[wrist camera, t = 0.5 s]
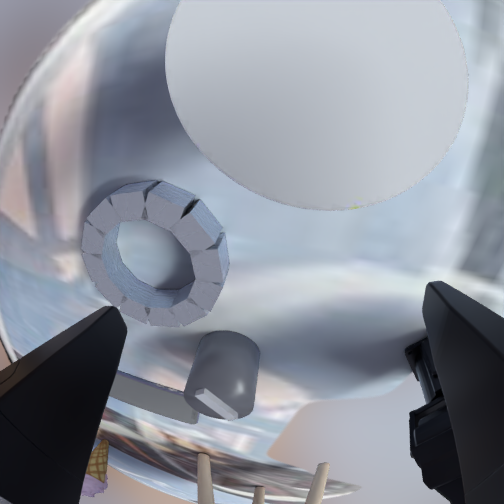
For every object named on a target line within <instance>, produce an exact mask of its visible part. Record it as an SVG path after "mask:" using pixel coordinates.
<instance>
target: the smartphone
mask: <svg viewBox="0 0 504 504" xmlns="http://www.w3.org/2000/svg"><path fill="white" fill-rule="evenodd" d="M183 394H184V392H182V391H178V390H175V389H172V388H169V387H165V386H162V385H159V384H156V383H153V382H150V381H147V380H144V379H141V378H138V377H135V376H132V375H130V374H127V373H124V372H121V371H119V370H117V373H116V376H115V380H114V382H113V385H112V388H111V391H110V394H109V396H111V397H113V398H116V399H118V400H121V401H123V402H126V403H128V404H131V405H134V406H136V407H139V408H142V409H145V410H148V411H150V412H153V413H156V414H159V415H162V416H166V417H169V418H172V419H175V420H179V421H182V422H185V423H189V424H196V423H198V418H199V412H198V411H196V410H194V409H193V408H192V407H190V406H189V405H188V404H187V402H186V401H185V399H184V395H183Z"/></svg>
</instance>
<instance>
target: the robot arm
mask: <svg viewBox="0 0 504 504" xmlns="http://www.w3.org/2000/svg"><path fill="white" fill-rule="evenodd" d="M422 313H423V318H424V322H425V326H426V330H427V334H428V337H427V338H425V339H424V340H422V341H420V342H418V343H416V344H414V345H412V346H410V347H408V348H406V349H405V355H406V357H407V359H408V361H409V364H410V366H411V368H412V370H413V373H414V375H415V377H416V379H417V381H420V384H421V387H422V390H423V394H424V398H425V401H426V405H424V406H422V407H420V408H418V409H417V410H413V411H411V412H410V413H409V415H410V420H409V428H410V451H411V452H410V455H411V457H412V458H414V459H415V461H416V463H417V465H418V466H419V467H420V468H421V469H422V476H423V482H424V483H425V485H426V486H427V487H428V488H429V489H435V490H436V491H437V492H439V493H440V494H441V495H442V496H444V497H445V498H446V499H447V500H449V501H450V503H451V504H504V318H503V317H501V316H499V315H498V314H496V313H495V312H493V311H491V310H490V309H488V308H487V307H485V306H483V305H482V304H480V303H478V302H477V301H475V300H473V299H472V298H470V297H468V296H467V295H465V294H463V293H462V292H460V291H458V290H457V289H455V288H453V287H451V286H450V285H448V284H446V283H444V282H443V281H434V282H429V283H428V284H427V286H426V290H425V296H424V301H423V307H422ZM126 335H127V326H126V324H125V322H124V320H123V318H122V316H121V314H120V312H119V310H118V309H117V308H116V307H115V306H104V307H102V308H100V309H99V310H97V311H95V312H94V313H92V314H90V315H89V316H87V317H86V318H84V319H82V320H81V321H79V322H77V323H76V324H74V325H73V326H71V327H69V328H68V329H66V330H65V331H63V332H61V333H60V334H58V335H57V336H55V337H53V338H52V339H50V340H49V341H47V342H45V343H44V344H42V345H41V346H39V347H38V348H36V349H34V350H33V351H31V352H30V353H28V354H27V355H25V356H23V357H22V358H21V359H19V360H17V361H16V362H14V363H13V364H11V365H9V366H8V367H6V368H5V369H3V370H2V371H0V504H79V500H80V495H81V492H82V487H83V482H84V479H85V475H86V471H87V467H88V463H89V459H90V456H91V452H92V449H93V445H94V442H95V438H96V435H97V432H98V428H99V425H100V422H101V419H102V415H103V412H104V409H105V406H106V403H107V400H108V397H109V394H110V391H111V388H112V385H113V382H114V380H115V376H116V373H117V370H118V366H119V362H120V358H121V354H122V350H123V347H124V343H125V339H126Z"/></svg>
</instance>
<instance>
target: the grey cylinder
mask: <svg viewBox="0 0 504 504" xmlns="http://www.w3.org/2000/svg"><path fill="white" fill-rule="evenodd" d="M165 71H166V79H167V85H168V89H169V94H170V97H171V100H172V103H173V106H174V108H175V111H176V113H177V116H178V118H179V120H180V122H181V124H182V126H183V127H184V129H185V131H186V132H187V134H188V135H189V137H190V138H191V140H192V141H193V142H194V144H195V145H196V146H197V148H198V149H199V150H200V151H201V152H202V154H203V155H204V156H205V157H206V158H207V159H208V160H209V161H210V162H211V163H212V164H213V165H214V166H216V167H217V168H218V169H219V170H220V171H221V172H223V173H224V174H225V175H226V176H228V177H229V178H231V179H232V180H233V181H235V182H236V183H238V184H239V185H241V186H243V187H245V188H246V189H248V190H250V191H252V192H254V193H256V194H258V195H260V196H263V197H265V198H268V199H270V200H273V201H276V202H279V203H282V204H286V205H290V206H293V207H299V208H304V209H312V210H326V211H335V210H349V209H356V208H362V207H366V206H370V205H374V204H377V203H380V202H383V201H386V200H388V199H391V198H393V197H395V196H397V195H399V194H401V193H403V192H405V191H407V190H408V189H410V188H411V187H413V186H414V185H416V184H417V183H419V182H420V181H421V180H423V179H424V178H425V177H426V176H427V175H428V174H429V173H430V172H431V171H432V170H433V169H434V168H435V167H436V166H437V165H438V164H439V163H440V162H441V160H442V159H443V158H444V157H445V155H446V154H447V152H448V151H449V149H450V148H451V146H452V144H453V142H454V140H455V139H456V136H457V134H458V132H459V130H460V127H461V124H462V121H463V118H464V114H465V110H466V105H467V99H468V67H467V61H466V56H465V51H464V47H463V44H462V41H461V38H460V35H459V33H458V30H457V28H456V26H455V24H454V22H453V20H452V18H451V16H450V14H449V12H448V11H447V9H446V8H445V6H444V4H443V3H442V2H441V0H181V1H180V3H179V4H178V6H177V9H176V11H175V13H174V15H173V18H172V21H171V24H170V27H169V31H168V36H167V42H166V50H165Z"/></svg>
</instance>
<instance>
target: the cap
mask: <svg viewBox="0 0 504 504" xmlns="http://www.w3.org/2000/svg"><path fill="white" fill-rule="evenodd" d="M259 361H260V351H259V348H258V347H257V345H256V344H255V343H254V342H253V341H252V340H251V339H250V338H248V337H246V336H244V335H242V334H240V333H237V332H232V331H215V332H212V333H209V334H207V335H206V336H204V337H203V338H202V340H201V341H200V344H199V347H198V350H197V353H196V356H195V359H194V362H193V365H192V368H191V371H190V374H189V377H188V381H187V384H186V387H185V390H184V394H183V395H184V399H185V401H186V402H187V404H188V405H189V406H190V407H192V408H193V409H194V410H196V411H198V412H199V413H202V414H204V415H206V416H209V417H213V418H218V419H227V420H228V421H231V420H235V419H239V418H243V417H245V416H247V415H249V414H250V413H251V412H252V410H253V407H254V400H255V392H256V384H257V377H258V369H259Z"/></svg>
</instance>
